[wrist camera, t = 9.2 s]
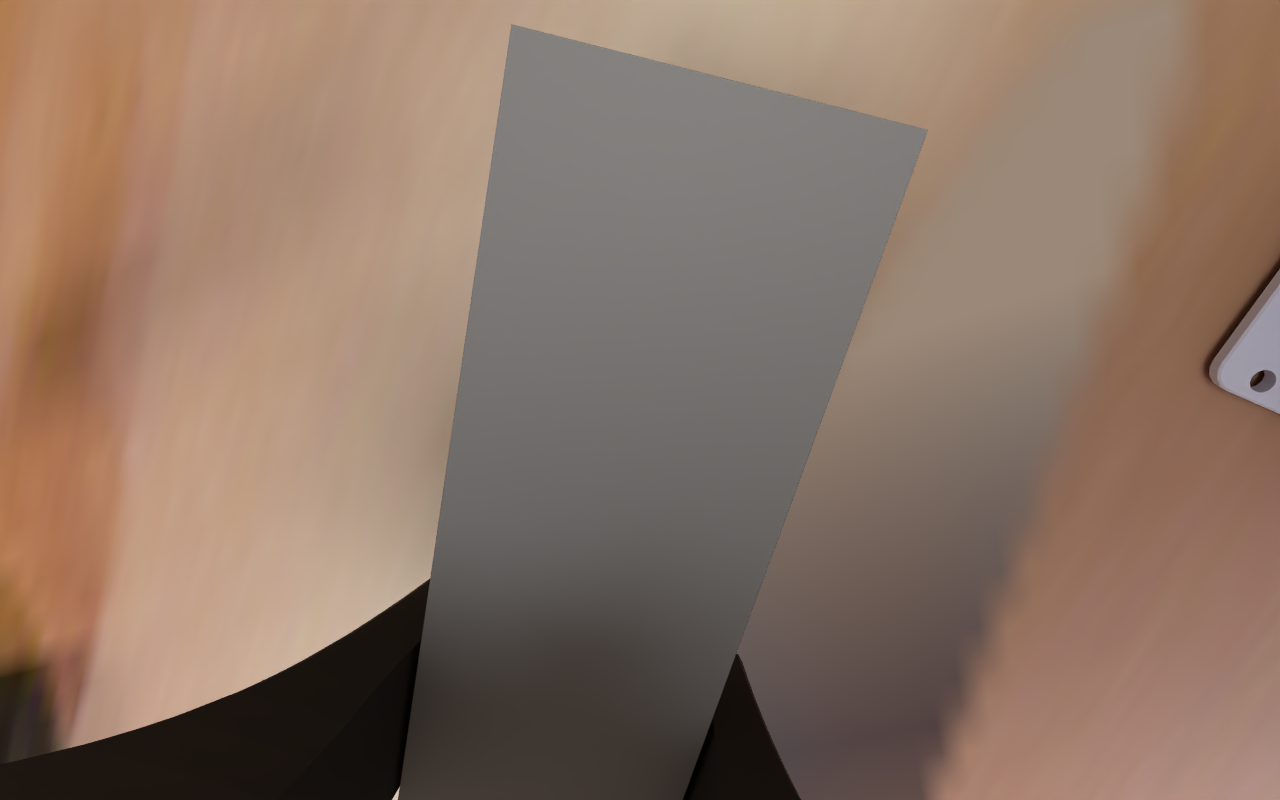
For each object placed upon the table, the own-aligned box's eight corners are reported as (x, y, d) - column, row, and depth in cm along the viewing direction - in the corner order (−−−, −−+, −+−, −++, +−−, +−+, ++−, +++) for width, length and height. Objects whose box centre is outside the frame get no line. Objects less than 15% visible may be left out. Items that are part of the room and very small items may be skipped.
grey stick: (855, 118, 11) (927, 129, 7) (608, 871, 19) (562, 1125, 14) (604, 54, 12) (511, 23, 7) (454, 825, 19) (359, 1063, 14)
